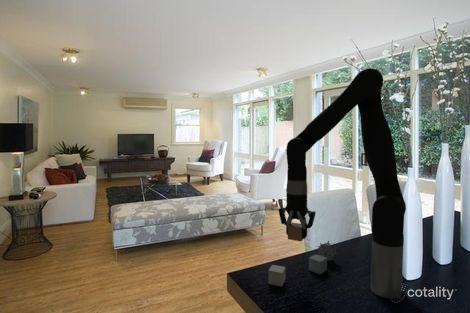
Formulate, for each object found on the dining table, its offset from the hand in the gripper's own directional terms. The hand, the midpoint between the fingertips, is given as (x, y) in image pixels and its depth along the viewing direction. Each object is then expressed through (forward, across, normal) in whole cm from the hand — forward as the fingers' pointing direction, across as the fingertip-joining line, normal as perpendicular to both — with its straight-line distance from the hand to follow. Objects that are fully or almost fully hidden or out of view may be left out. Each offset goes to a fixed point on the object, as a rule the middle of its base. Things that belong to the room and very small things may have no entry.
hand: (296, 236), depth 109 cm
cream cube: (+15, +4, +8) cm, 18 cm away
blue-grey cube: (+15, -6, -9) cm, 18 cm away
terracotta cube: (+1, 0, 0) cm, 1 cm away
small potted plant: (+15, -7, -19) cm, 25 cm away
